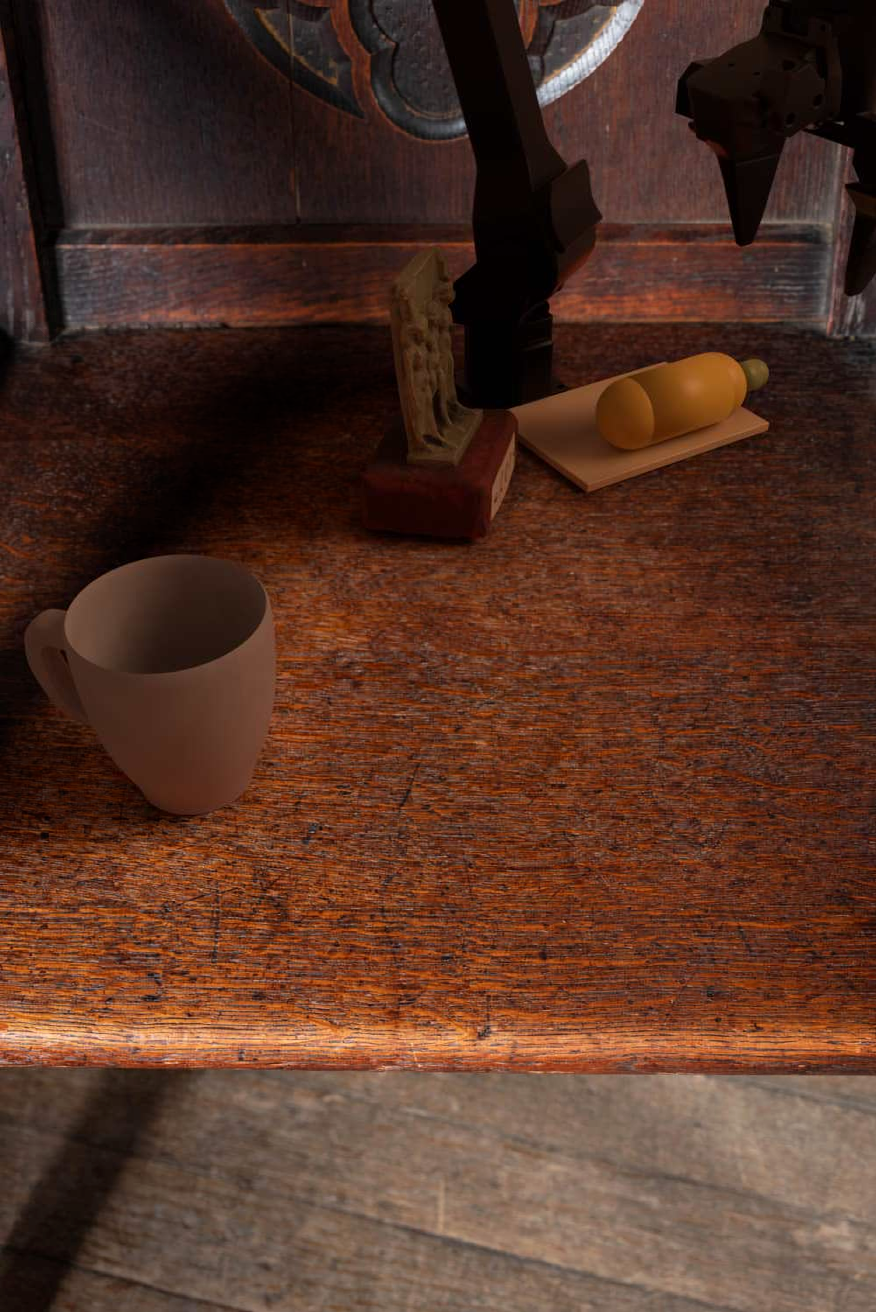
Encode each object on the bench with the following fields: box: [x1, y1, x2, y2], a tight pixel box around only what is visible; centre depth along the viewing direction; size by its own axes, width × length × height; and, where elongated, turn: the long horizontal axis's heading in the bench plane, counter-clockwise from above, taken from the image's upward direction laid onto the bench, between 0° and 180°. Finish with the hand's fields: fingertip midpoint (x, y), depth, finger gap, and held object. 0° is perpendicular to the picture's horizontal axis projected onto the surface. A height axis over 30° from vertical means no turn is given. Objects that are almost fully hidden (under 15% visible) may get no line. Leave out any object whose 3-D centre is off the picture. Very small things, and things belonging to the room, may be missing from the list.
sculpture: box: [360, 244, 519, 539], centre depth 73 cm, size 10×8×15 cm
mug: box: [24, 554, 277, 816], centre depth 57 cm, size 12×9×10 cm
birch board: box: [507, 361, 770, 493], centre depth 85 cm, size 11×15×1 cm
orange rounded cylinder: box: [595, 351, 770, 450], centre depth 82 cm, size 14×5×5 cm, turn 121°
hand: (796, 268), depth 75 cm, fingers open, 9 cm apart
